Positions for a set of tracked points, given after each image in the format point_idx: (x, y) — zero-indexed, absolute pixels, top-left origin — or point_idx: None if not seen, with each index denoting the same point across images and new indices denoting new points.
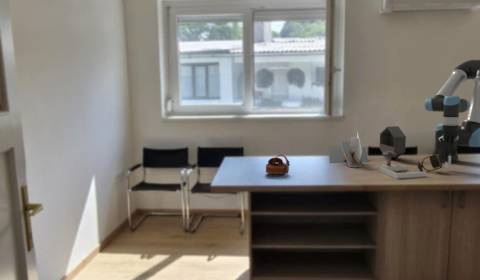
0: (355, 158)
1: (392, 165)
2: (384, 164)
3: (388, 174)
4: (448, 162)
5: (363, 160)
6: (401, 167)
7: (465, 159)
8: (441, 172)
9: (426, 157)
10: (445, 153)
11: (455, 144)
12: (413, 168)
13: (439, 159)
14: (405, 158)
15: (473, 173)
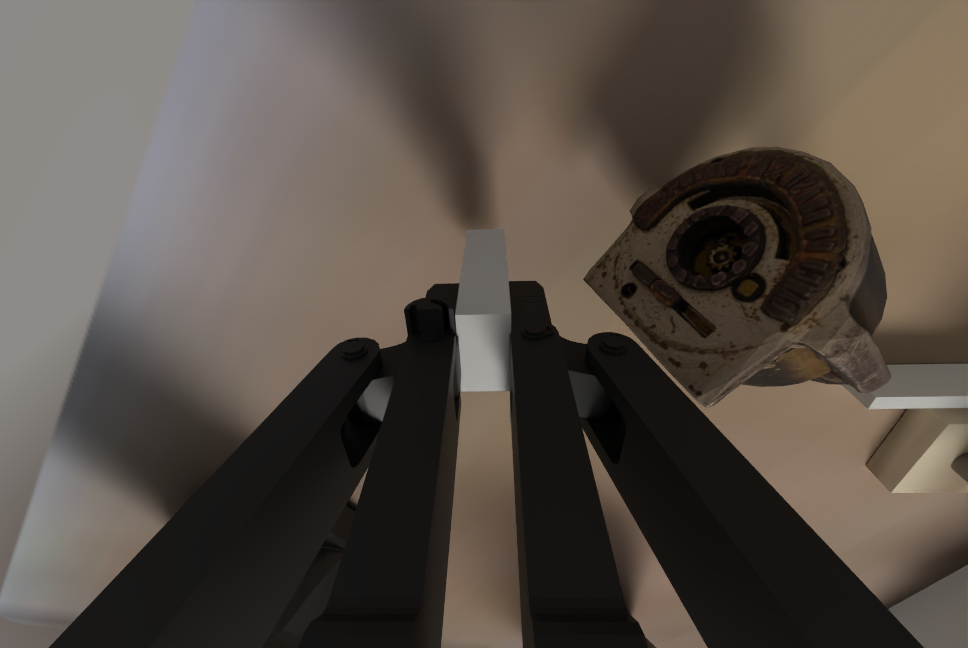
0: (947, 628)
1: (946, 452)
2: (958, 491)
3: None
4: (506, 262)
5: None
6: (943, 385)
7: (101, 543)
8: (608, 194)
9: (890, 375)
10: (604, 356)
11: (238, 588)
12: (720, 406)
13: (835, 193)
14: (506, 613)
15: (221, 25)
